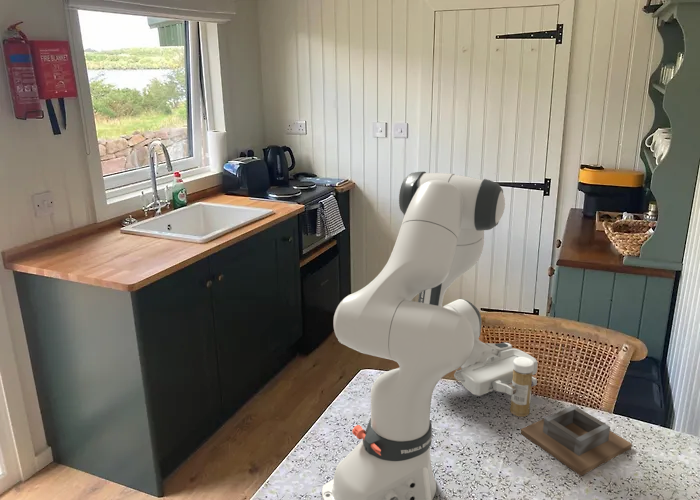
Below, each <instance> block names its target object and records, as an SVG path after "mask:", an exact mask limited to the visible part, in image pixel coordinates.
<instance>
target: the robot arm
mask: <svg viewBox="0 0 700 500" xmlns="http://www.w3.org/2000/svg"><path fill="white" fill-rule="evenodd" d="M398 193H399V194H398V204H399V211H401V213H402V214H403V215H404V216H403V219H402V222H401V225H400V228H399V230H398V234H397V237H396V241H395V243H394V246H393V249H392V251H391V253H390V256H389V258H388V260H387V262H386V264H385V265H384V266H383V268H382V270H381V271H380V272H379V273H378V275H376V276H375V278H374V279H373V280H372V281H370V282H369V283H368V284H367V285H366V286H364V287H362V288H361V289H359V290H357V291H355V292H353V293H351V294H348V295H347V296H345V297H344V298H343V299H342V300H340V302H339V304H338V305H337V307H336V309H335V312H334V315H333V330H334V331H333V332H334V335H335V337H336V338H337V341H338V342H339V343H340V344H342V345H344V346H346V347H348V348H350V349H351V350H354V351H357V352H358V353H361V354H364V355H369V356H373V357H378V358H382V359H387V360H391V361H394V362H396V363H397V364H398V366H399V367H397V368H393V369H390V370H388V371H385V372H384V373H382V374H380V375H379V376H377V378H376V379H375V380H374V382H373V383H372V385H371V388H370V418H369V421H368V423H367V426H366V428H365V429H364V428H363V427H362V426H361V425H360V424H357V425H355V426H354V427H353V428H352V430H351V431H352V434H353V436H355V437H356V438H357V439H358V440H360V442H359V443H358V444H357V445H355V447H354V448H353V449H352V450H351V451H350V452H349V453H348V454H347V455H346V456H345V457H344V458H343V459H342V460H341V461H340V462H339V463H337V465H336V468H335V471H334V474H333V478H332V479H331V480H329V481H328V482H327V483H324V484H323V485H322V488H321V491H322V492H321V499H322V500H434V497H435V495H436V493H437V481H436V479H435V475H434V471H433V467H432V460H431V459H432V458H431V448H430V447H431V444H432V440H433V439H432V438H433V432H432V431H433V428H432V427H433V426H432V425H433V424H432V421H431V420H430V419H431V405H432V397H433V393H434V390H435V388H436V386H437V384H438V383H439V382H440V380H441V379H442V378H443V377H445V376H446V375H448V374H450V373H451V372H454V371H455V372H454V374H453V376H454V379H455V380H457V381H458V382H460V383H461V385H462V386H463V387H464V388H465V389H466V390H467V391H469V392H470V394H472V395H474V396H479V397H480V396H483V395H485V394H488V393H490V392H493V391H496V392H499V393H500V392H501V393H504V394H507V395H509V396H511V395H513V394H515V393H516V387H515V386H513V385H512V379H513V361H514V359H515V358H518V357H525V358H528V359H531V360H532V361H533V362H534V370H533V372H532V384H531V388H532V387H535V386H537V384H538V379H537V378H536V377H534V376H533V375H536V374H537V373H538V361H537V358H535V357H533V356H532V355H530V354H529V353H527V352H525V351H523V350H521V349H519V348H515V347H513V344H511V343H509V342H499V343H491V342H490V343H489V342H483V341H481V340H480V339H479V338H480V337H481V333H482V316H481V313H480V311H479V309H478V308H477V307H476V306H475V305H474V304H473V303H471V302H470V301H469V300H467V299H464V298H458V299H456V300H453V301H451V302H449V303H447V304H444V306H443V301H444V296H445V293H446V292H447V290H448V289H449V287H451V286H452V285H453V283H454V282H455V281H456V280H458V279H459V278H460V277H461V276H462V275H464V274H466V272H468V271H469V270H470V269H471V268H473V267H474V266H475V265H476V264H477V263H478V261H479V260H480V258H481V255H482V254H483V253H482V252H483V251H484V250H483V249H484V243H485V241H484V240H485V231H489V230H492V229H494V228H495V227H497V226H498V224H499V223H500V221H501V219H502V217H503V214H504V212H505V208H506V206H505V205H506V200H505V199H506V198H505V195H504V189H503V188H502V186H501V184H500V183H499V182H495V181H493V180H490V179H486V178H484V179H479V178H475V177H472V176H471V177H470V176H466V175H461V174H460V175H458V174H455V173H449V172H426V171H415V172H411V173H410V174H408V175H407V176H406V177H405V178H404V179H403V180H402V183H401V185H400V189H399V192H398ZM416 296H418V298H417V299H418V301H415V300H413V299H414V298H415V297H416Z"/></svg>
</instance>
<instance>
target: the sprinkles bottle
mask: <svg viewBox="0 0 700 500" xmlns="http://www.w3.org/2000/svg"><path fill="white" fill-rule="evenodd" d="M533 370H534V362H533V361H532V360H531V359H528V358H525V357H518V358H515V359H514V361H513V379H512V383H511V385H513V386H515V387H516V393H515V394H513V395H510V407H509V411H510V413H511V414H512V415H513V416H515V417H520V418H521V417H523V418H524V417H527V416H529V414H530V411H531V410H530V408H531V407H530V406H531V405H530V404H531V400H532V399H531V397H532V387H531V384H532V377H533V375H532V372H533Z"/></svg>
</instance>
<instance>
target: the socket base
mask: <svg viewBox="0 0 700 500" xmlns="http://www.w3.org/2000/svg"><path fill="white" fill-rule="evenodd" d="M519 431H520V432H519V434H520V435H521V436H523V437H525V439H528V440H529V441H530V442H531V443H533V444H534V445H536V446H537V447H539V448H540V449H542V450H543V451H545V452H546V454H547V453H548V454H549V455H550V456H552V457H553V458H554V459H556V460H558V462H560V463H561V464H563V465H564V466H566V467H568V469H570V470H572V471H573V472H575V474H577V475H579V476H580V477H582V476H584V475H585V474H588V473H589V472H591V471H593V470H595V469H597V468H599V467H600V466H602V465H604V464H605V463H607V462H610V461H611V460H613V459H614V458H617V457H618V456H621V455H622V454H624V453H626V452H627V451H629V450H632V446H633V444H632V443H631V442H630V441H628V440H627V439H624V438H623V437H622V436H620V435H618V434H617V433H614V432H613V431H612V430H611V426H610V425H608V424H607V423H606V422H605V423H604V422H603V421H601V420H599V419H598V418H596V417H594V416H593V415H591V414H590V413H588V412H586V411H584V410H582V409H581V408H579V407H578V406H576V405H574V404H573V405H571V406H569V407H566V408H564V409H561V410H560V411H558V412H555V413H552V414H551V415H548V416H547V417H544V418H542V419H540V420H538V421H535V422H533V423H531V424H529V425H527V426H524V427H522V428H520V430H519Z"/></svg>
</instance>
